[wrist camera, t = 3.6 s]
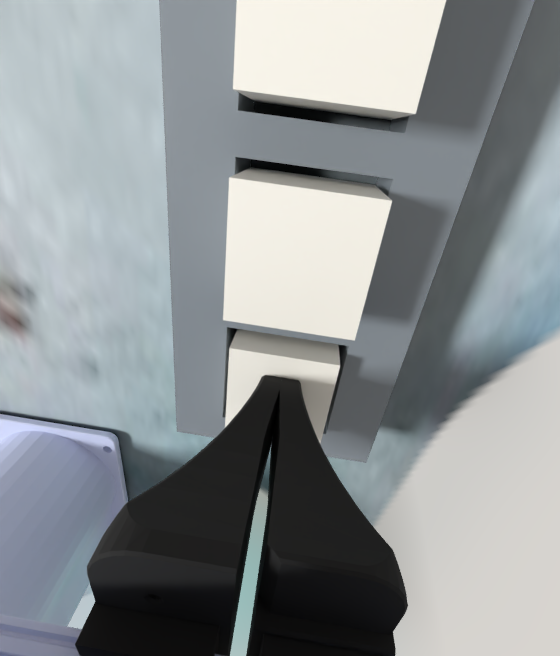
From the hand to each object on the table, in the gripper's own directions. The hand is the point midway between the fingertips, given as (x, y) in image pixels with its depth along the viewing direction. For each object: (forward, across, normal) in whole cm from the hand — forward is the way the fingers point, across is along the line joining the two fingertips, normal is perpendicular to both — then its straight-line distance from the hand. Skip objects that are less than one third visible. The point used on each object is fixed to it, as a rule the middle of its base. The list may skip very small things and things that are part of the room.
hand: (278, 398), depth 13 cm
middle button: (+2, 0, -6) cm, 6 cm away
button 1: (+3, 0, 0) cm, 3 cm away
